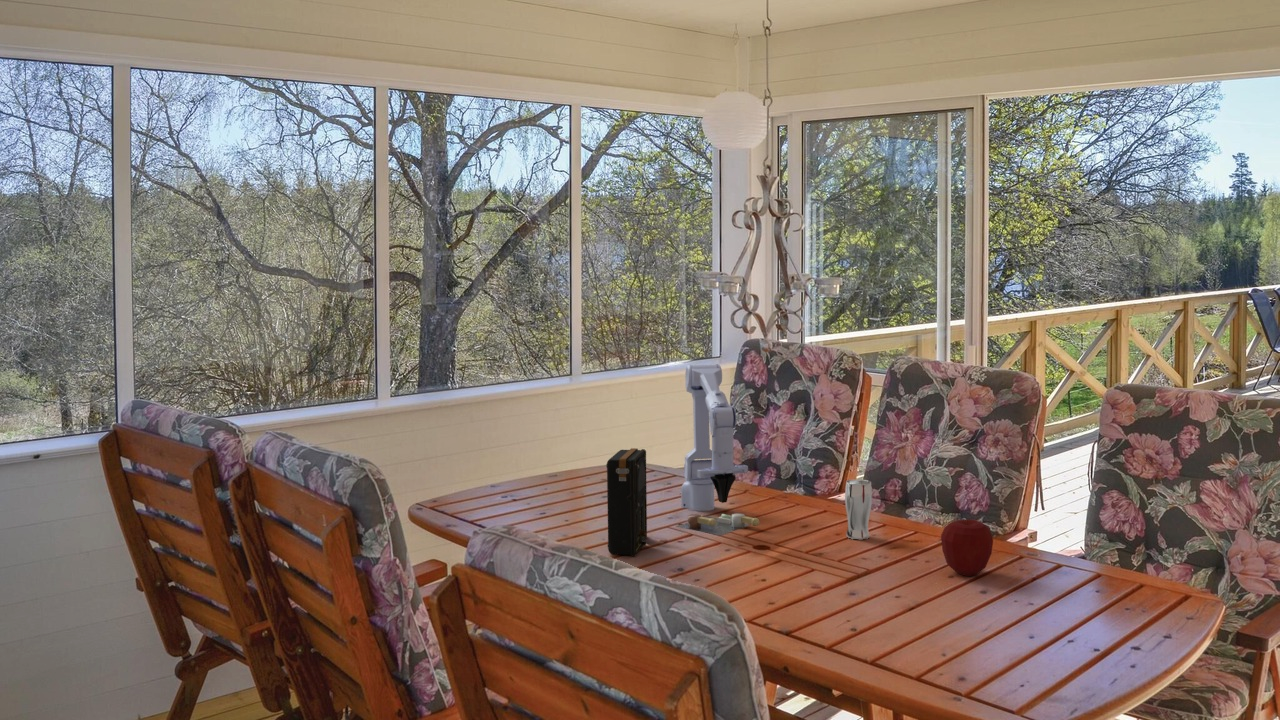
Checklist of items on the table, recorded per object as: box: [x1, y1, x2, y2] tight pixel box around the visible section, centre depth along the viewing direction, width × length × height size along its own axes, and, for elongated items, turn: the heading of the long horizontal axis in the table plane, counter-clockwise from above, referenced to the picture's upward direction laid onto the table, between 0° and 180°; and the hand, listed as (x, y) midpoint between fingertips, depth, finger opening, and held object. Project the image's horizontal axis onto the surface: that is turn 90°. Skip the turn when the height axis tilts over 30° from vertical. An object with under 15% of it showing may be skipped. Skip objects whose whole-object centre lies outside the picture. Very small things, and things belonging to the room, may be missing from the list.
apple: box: [940, 517, 994, 577], centre depth 240 cm, size 12×12×13 cm
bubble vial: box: [717, 513, 732, 524], centre depth 285 cm, size 4×2×2 cm, turn 49°
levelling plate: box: [675, 515, 750, 537], centre depth 281 cm, size 15×14×1 cm
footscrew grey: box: [731, 513, 760, 529], centre depth 279 cm, size 9×4×3 cm, turn 45°
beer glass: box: [844, 478, 873, 541], centre depth 272 cm, size 7×7×15 cm
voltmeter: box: [606, 447, 648, 557], centre depth 263 cm, size 16×9×25 cm, turn 168°
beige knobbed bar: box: [687, 513, 716, 528], centre depth 279 cm, size 9×4×3 cm, turn 49°
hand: (722, 501), depth 274 cm, fingers closed
